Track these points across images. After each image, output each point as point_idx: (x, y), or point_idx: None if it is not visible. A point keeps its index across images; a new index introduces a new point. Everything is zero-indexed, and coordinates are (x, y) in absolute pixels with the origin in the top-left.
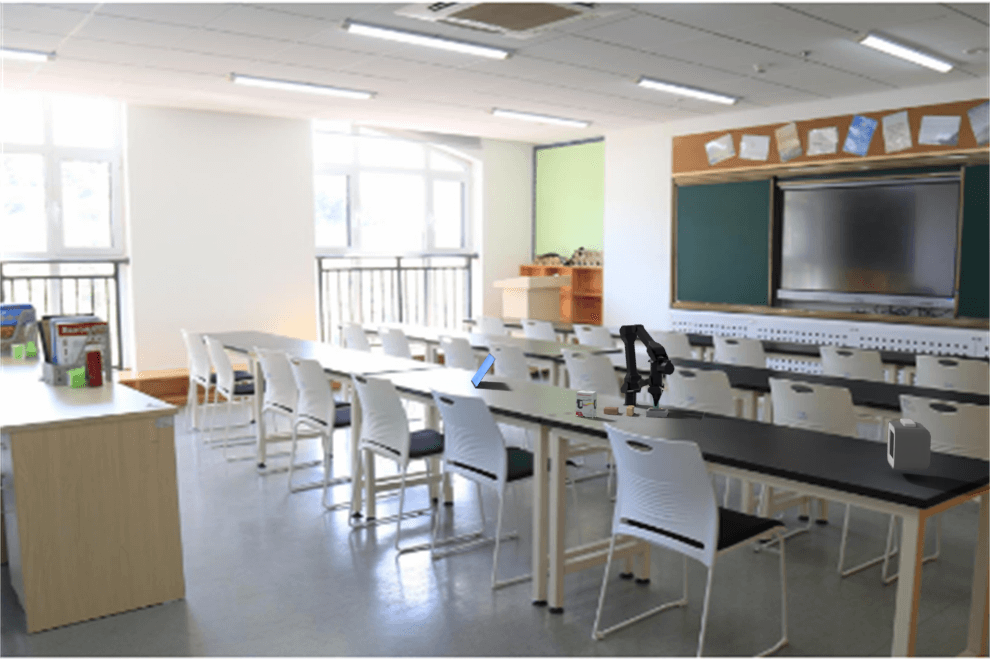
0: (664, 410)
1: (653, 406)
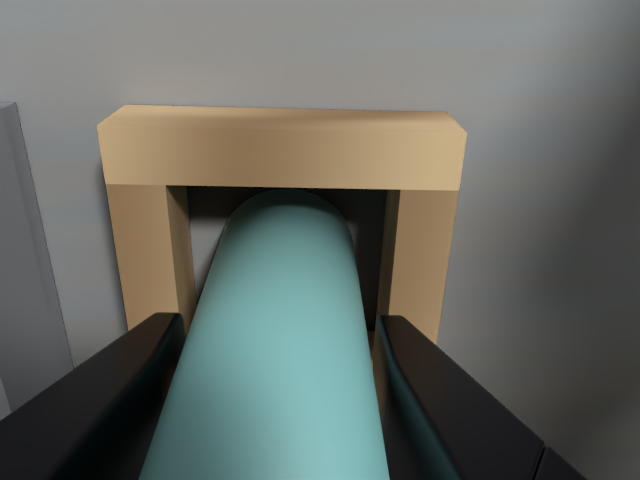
0: None
1: (224, 267)
